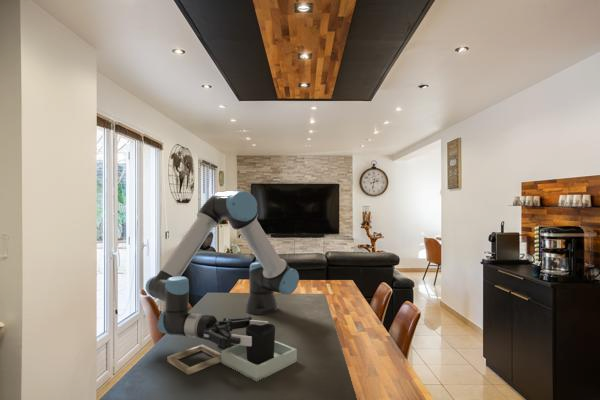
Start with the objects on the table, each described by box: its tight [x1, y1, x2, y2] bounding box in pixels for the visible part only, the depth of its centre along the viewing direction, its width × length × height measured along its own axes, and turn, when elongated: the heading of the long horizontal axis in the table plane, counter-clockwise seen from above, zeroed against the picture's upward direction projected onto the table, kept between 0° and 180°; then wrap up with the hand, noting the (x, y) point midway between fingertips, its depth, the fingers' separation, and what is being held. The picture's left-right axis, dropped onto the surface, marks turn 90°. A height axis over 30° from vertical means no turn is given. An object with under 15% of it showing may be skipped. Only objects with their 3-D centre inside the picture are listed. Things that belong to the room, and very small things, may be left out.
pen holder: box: [245, 323, 276, 364], centre depth 110 cm, size 9×9×10 cm
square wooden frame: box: [166, 343, 222, 376], centre depth 110 cm, size 13×13×2 cm
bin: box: [220, 340, 298, 382], centre depth 109 cm, size 17×17×4 cm
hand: (260, 333), depth 109 cm, fingers open, 13 cm apart
